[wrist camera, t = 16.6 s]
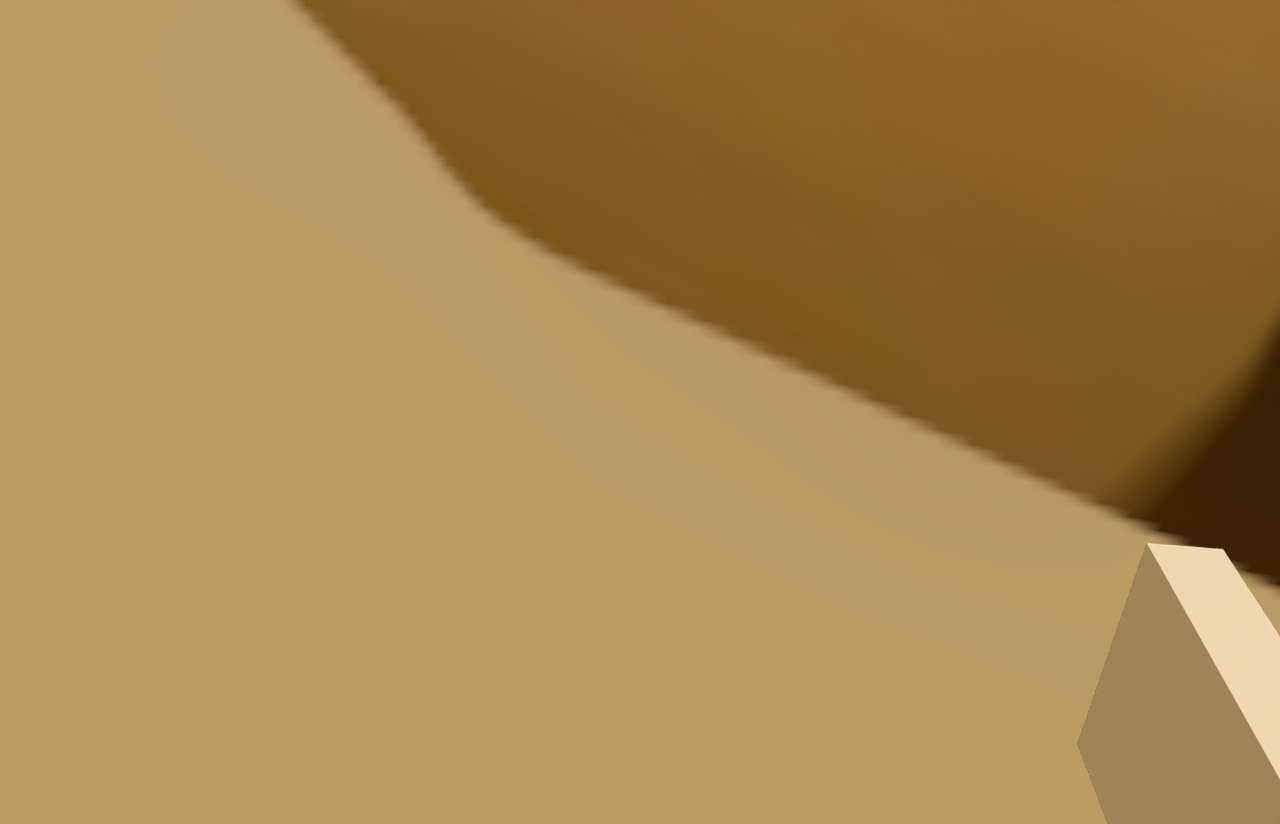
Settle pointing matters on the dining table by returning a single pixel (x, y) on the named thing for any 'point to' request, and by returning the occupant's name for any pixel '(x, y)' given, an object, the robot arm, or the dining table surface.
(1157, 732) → the robot arm
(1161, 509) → the dining table surface
